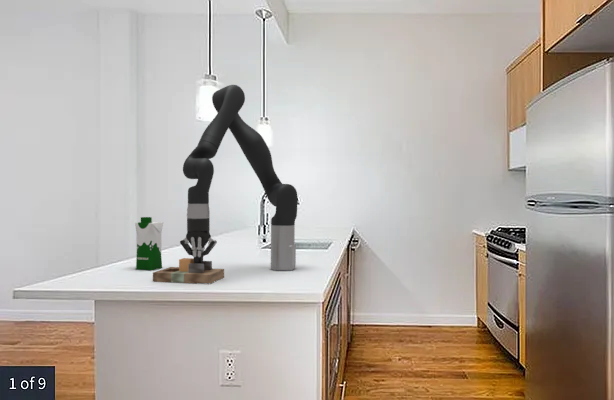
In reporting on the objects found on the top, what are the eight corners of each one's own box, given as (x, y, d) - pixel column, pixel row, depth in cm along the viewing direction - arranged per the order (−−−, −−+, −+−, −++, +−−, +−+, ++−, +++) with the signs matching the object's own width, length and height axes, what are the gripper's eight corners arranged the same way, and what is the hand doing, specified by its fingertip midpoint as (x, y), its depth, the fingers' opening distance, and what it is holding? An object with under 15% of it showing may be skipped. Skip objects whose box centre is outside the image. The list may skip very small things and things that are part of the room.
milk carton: (132, 269, 213) (132, 217, 212) (146, 266, 221) (146, 216, 221) (152, 271, 210) (152, 217, 209) (165, 267, 218) (165, 216, 218)
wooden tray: (224, 277, 196) (224, 260, 196) (209, 284, 182) (209, 265, 182) (171, 275, 200) (171, 258, 200) (152, 281, 186) (152, 263, 186)
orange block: (194, 270, 193) (194, 258, 193) (190, 271, 189) (190, 259, 189) (184, 269, 194) (184, 258, 193) (179, 271, 190) (179, 259, 190)
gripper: (220, 216, 192) (220, 266, 193) (184, 216, 195) (184, 265, 195) (212, 217, 185) (212, 270, 185) (175, 217, 187) (175, 268, 188)
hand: (198, 267), depth 190 cm, fingers closed
